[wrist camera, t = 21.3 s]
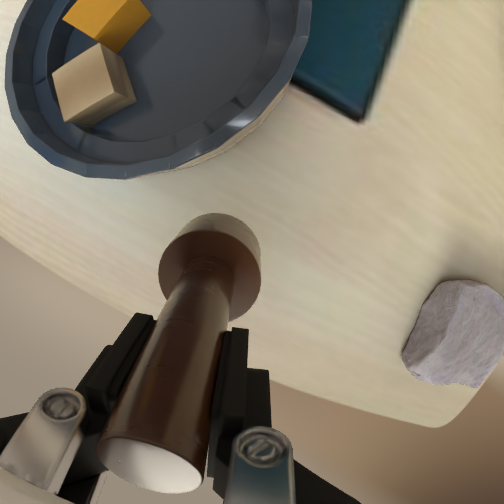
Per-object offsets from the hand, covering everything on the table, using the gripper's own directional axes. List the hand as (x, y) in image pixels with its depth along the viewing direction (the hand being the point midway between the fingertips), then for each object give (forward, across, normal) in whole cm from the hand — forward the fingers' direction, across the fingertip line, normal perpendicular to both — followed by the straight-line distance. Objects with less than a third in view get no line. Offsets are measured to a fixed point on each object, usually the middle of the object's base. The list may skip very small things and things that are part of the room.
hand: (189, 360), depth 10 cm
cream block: (+13, +10, -11) cm, 20 cm away
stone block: (+14, -23, +5) cm, 28 cm away
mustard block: (+13, +10, -17) cm, 24 cm away
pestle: (+7, 0, -2) cm, 7 cm away
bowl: (+14, +7, -15) cm, 22 cm away
